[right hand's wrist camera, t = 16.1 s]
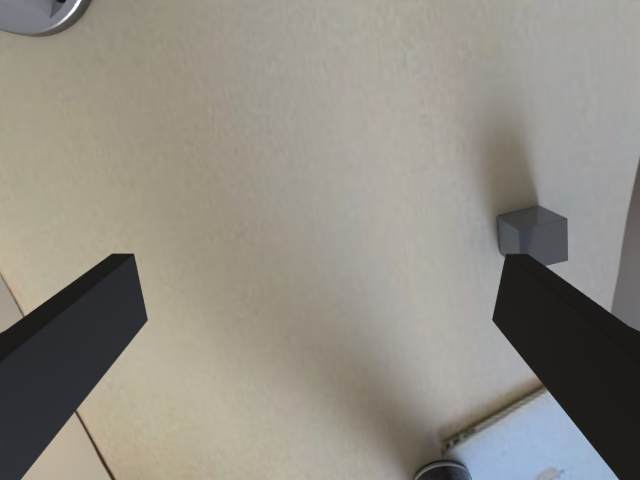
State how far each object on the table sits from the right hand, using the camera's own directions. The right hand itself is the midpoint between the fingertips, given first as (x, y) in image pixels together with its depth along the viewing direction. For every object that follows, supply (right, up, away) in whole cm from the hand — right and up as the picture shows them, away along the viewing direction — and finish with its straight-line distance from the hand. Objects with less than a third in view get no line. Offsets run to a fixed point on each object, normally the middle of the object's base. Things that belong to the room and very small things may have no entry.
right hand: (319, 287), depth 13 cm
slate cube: (+24, +3, +30) cm, 38 cm away
